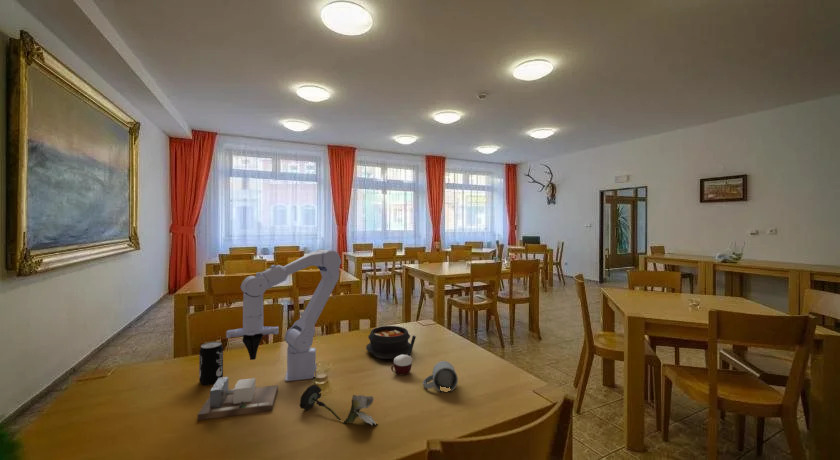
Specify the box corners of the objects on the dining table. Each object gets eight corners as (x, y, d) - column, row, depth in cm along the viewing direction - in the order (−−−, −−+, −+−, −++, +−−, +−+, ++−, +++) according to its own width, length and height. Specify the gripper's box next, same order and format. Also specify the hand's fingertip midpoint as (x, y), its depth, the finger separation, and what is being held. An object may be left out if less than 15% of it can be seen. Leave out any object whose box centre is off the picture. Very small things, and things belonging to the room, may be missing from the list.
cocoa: (392, 378, 114) (391, 344, 113) (389, 370, 120) (388, 337, 119) (419, 375, 116) (418, 340, 115) (415, 366, 122) (414, 334, 121)
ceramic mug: (454, 380, 112) (453, 357, 112) (458, 392, 104) (457, 367, 104) (422, 381, 112) (421, 358, 111) (423, 393, 103) (423, 369, 103)
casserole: (416, 362, 127) (417, 340, 127) (366, 365, 124) (367, 342, 124) (407, 340, 152) (407, 321, 152) (365, 342, 148) (365, 323, 148)
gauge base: (277, 389, 105) (277, 384, 105) (272, 410, 93) (272, 404, 93) (211, 397, 100) (211, 392, 100) (197, 420, 88) (197, 414, 88)
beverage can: (211, 386, 106) (211, 348, 106) (194, 384, 108) (194, 347, 107) (227, 377, 113) (227, 341, 112) (210, 375, 114) (210, 340, 114)
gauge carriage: (255, 391, 100) (255, 378, 100) (249, 406, 92) (249, 391, 92) (229, 394, 98) (229, 380, 98) (220, 410, 90) (220, 395, 90)
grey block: (228, 393, 99) (228, 376, 99) (220, 408, 91) (220, 389, 91) (218, 394, 98) (218, 377, 98) (210, 409, 91) (210, 390, 90)
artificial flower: (319, 404, 99) (329, 369, 101) (379, 439, 87) (389, 399, 89) (295, 410, 92) (306, 372, 93) (357, 448, 80) (369, 405, 82)
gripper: (223, 320, 99) (223, 366, 99) (276, 316, 103) (276, 361, 103) (229, 314, 106) (229, 357, 106) (279, 311, 110) (279, 352, 110)
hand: (253, 358), depth 105 cm, fingers closed
